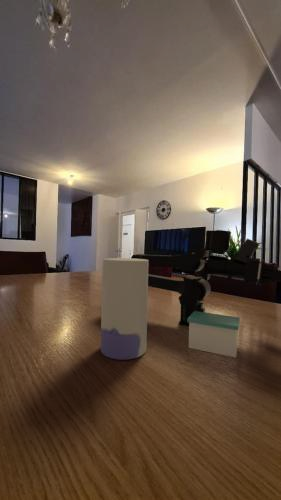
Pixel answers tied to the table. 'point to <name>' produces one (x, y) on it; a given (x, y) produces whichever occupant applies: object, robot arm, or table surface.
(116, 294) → the container
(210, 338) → the storage box
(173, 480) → the table surface
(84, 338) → the table surface
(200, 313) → the lid
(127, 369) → the table surface
